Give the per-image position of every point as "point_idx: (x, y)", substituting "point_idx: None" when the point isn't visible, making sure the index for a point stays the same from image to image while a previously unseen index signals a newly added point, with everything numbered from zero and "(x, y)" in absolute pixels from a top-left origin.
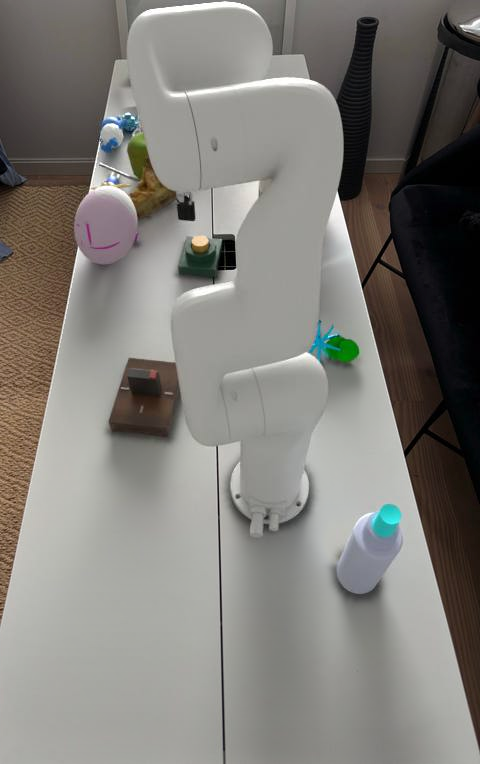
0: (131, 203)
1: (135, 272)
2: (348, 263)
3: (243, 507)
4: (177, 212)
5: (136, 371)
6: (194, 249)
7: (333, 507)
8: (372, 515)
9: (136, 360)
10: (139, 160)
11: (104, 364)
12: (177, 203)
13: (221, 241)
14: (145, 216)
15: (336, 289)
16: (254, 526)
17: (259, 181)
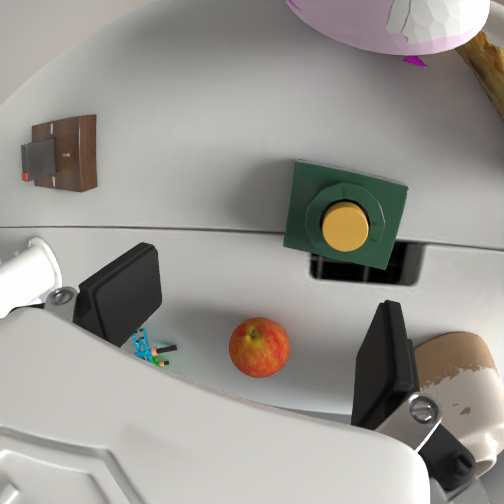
0: (436, 28)
1: (303, 61)
2: (306, 410)
3: (29, 246)
4: (119, 257)
5: (24, 154)
6: (329, 209)
7: None
8: None
9: (77, 128)
10: None
11: (99, 77)
12: (59, 292)
13: (377, 267)
14: (488, 94)
15: (257, 389)
16: (15, 255)
17: (473, 382)
